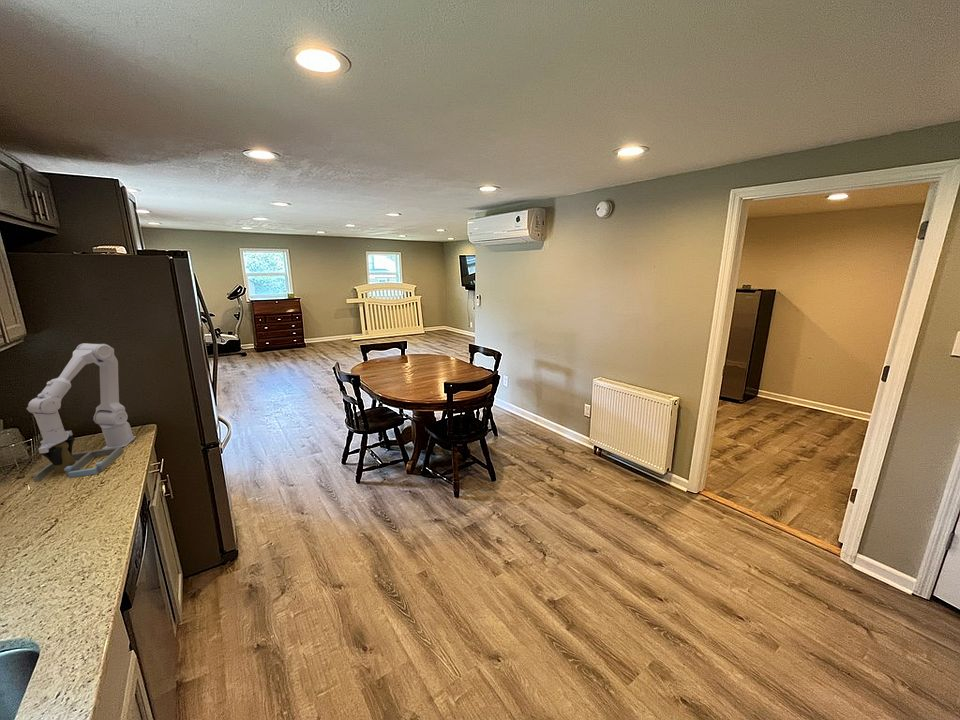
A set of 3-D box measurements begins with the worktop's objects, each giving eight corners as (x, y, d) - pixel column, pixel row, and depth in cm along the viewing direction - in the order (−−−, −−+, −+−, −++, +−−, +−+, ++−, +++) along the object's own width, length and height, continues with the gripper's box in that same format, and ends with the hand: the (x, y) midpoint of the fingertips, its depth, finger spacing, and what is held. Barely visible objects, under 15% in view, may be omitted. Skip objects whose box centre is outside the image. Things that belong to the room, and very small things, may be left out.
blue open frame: (62, 460, 149) (60, 453, 148) (123, 451, 156) (121, 444, 155) (32, 483, 135) (29, 475, 134) (101, 473, 141) (98, 465, 140)
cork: (65, 473, 141) (55, 447, 138) (49, 473, 141) (39, 447, 138) (81, 464, 146) (73, 439, 143) (66, 464, 147) (57, 439, 143)
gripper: (50, 421, 144) (61, 453, 148) (22, 439, 131) (35, 473, 135) (74, 419, 146) (85, 450, 150) (49, 435, 133) (61, 469, 137)
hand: (63, 461), depth 143 cm, fingers closed on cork, 5 cm apart
